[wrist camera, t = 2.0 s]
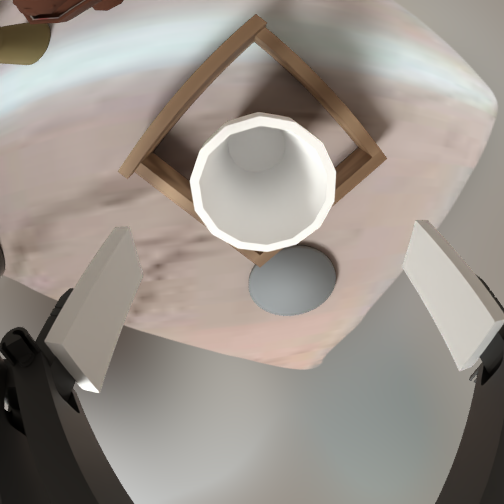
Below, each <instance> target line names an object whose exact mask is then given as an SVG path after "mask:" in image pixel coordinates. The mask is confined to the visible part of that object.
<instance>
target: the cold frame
mask: <svg viewBox="0 0 504 504" xmlns="http://www.w3.org/2000/svg"><path fill="white" fill-rule="evenodd" d="M266 24H267V22H266V21H264V20H263V19H262V18H261V17H259V16H258V15H257V14H255V15H254V16H253V17H252V18H251V19H249V20H248V21H247V22H246V23H245V24H244V25H242V26H241V27H240V28H239V29H238V30H237V31H236V32H235V33H234V34H233V35H231V36H230V37H229V38H228V39H227V40H226V41H225V42H224V43H223V44H222V45H221V46H220V47H219V48H218V49H217V50H216V51H215V52H214V53H213V54H212V55H211V56H210V57H209V58H208V59H207V60H206V61H205V62H204V63H203V64H202V65H201V66H200V67H199V68H198V69H197V70H196V71H195V72H194V74H193V75H192V76H191V77H190V78H189V79H188V80H187V81H186V82H185V84H184V85H183V86H182V87H181V88H180V89H179V90H178V92H177V93H176V94H175V95H174V96H173V97H172V99H171V100H170V101H169V102H168V103H167V105H166V106H165V107H164V108H163V110H162V111H161V112H160V113H159V115H158V116H157V117H156V119H155V120H154V121H153V122H152V124H151V125H150V126H149V128H148V129H147V130H146V132H145V133H144V134H143V136H142V137H141V139H140V140H139V141H138V143H137V144H136V145H135V147H134V148H133V150H132V151H131V153H130V154H129V156H128V157H127V159H126V160H125V162H124V163H123V165H122V166H121V168H120V169H119V171H118V172H119V173H120V174H122V175H123V176H124V177H126V178H127V179H128V178H129V177H130V176H131V175H132V174H133V173H134V172H135V173H137V174H138V175H139V176H140V177H142V178H143V179H144V180H146V181H147V182H148V183H150V184H151V185H152V186H153V187H155V188H156V189H157V190H159V191H160V192H161V193H163V194H164V195H165V196H166V197H168V198H169V199H170V200H172V201H173V202H174V203H176V204H177V205H178V206H180V207H181V208H182V209H183V210H185V211H186V212H187V213H189V214H190V215H191V216H193V217H194V218H195V219H197V220H198V221H199V222H200V223H202V224H203V225H204V226H206V225H205V224H204V222H203V221H202V220H201V218H200V217H199V216H198V214H197V213H196V212H195V209H194V203H193V198H192V192H191V186H190V181H189V180H187V179H186V178H185V177H184V176H182V175H181V174H180V173H178V172H177V171H176V170H175V169H173V168H172V167H171V166H170V165H168V164H167V163H166V162H164V161H163V160H162V159H161V158H159V157H158V156H157V155H156V154H154V153H153V151H154V150H155V149H156V148H157V146H158V145H159V144H160V142H161V141H162V140H163V139H164V137H165V136H166V135H167V134H168V132H169V131H170V130H171V129H172V127H173V126H174V125H175V124H176V123H177V121H178V120H179V119H180V118H181V117H182V115H183V114H184V113H185V112H186V111H187V110H188V108H189V107H190V106H191V105H192V104H193V103H194V102H195V100H196V99H197V98H198V97H199V96H200V95H201V94H202V93H203V92H204V91H205V90H206V88H207V87H208V86H209V85H210V84H211V83H212V82H213V81H214V80H215V79H216V78H217V77H218V76H219V75H220V74H221V73H222V72H223V71H224V70H225V69H226V68H227V67H228V66H229V65H230V64H231V63H232V62H233V61H234V60H235V59H236V58H237V57H238V56H239V55H240V54H241V53H242V52H243V51H245V50H246V49H247V48H248V47H249V46H250V45H251V44H252V43H253V42H255V43H257V44H258V45H259V46H260V47H261V48H262V49H264V50H265V51H266V52H267V53H268V54H269V55H271V56H272V57H273V58H274V59H275V60H276V61H277V62H278V63H280V64H281V65H282V66H283V67H284V68H285V69H286V70H287V71H288V72H289V73H290V74H291V75H292V76H293V77H295V78H296V79H297V80H298V81H299V82H300V83H301V84H302V85H303V86H304V87H305V88H306V89H307V90H308V91H309V92H310V93H311V94H312V95H313V96H314V97H315V98H316V100H317V101H318V102H319V103H320V104H321V105H322V106H323V107H324V108H325V109H326V110H327V111H328V112H329V113H330V115H331V116H332V117H333V118H334V119H335V120H336V121H337V122H338V124H339V125H340V126H341V127H342V128H343V129H344V130H345V132H346V133H347V134H348V135H349V136H350V138H351V139H352V140H353V141H354V142H355V144H356V145H357V146H358V148H357V149H356V150H355V151H354V152H353V153H352V154H350V155H349V156H348V157H347V158H346V159H345V160H344V161H343V162H341V163H340V164H339V165H338V166H337V167H336V168H335V170H336V183H335V199H334V203H333V205H334V204H336V203H337V202H338V201H339V200H340V199H341V198H343V197H344V196H345V195H346V194H347V193H348V192H350V191H351V190H352V189H353V188H354V187H355V186H356V185H358V184H359V183H360V182H361V181H362V180H363V179H364V178H366V177H367V176H368V175H369V174H370V173H371V172H372V171H374V170H375V169H376V168H377V167H378V166H379V165H380V164H382V163H383V162H384V161H385V160H386V159H387V158H386V156H385V155H384V153H383V152H382V151H381V149H380V148H379V147H378V145H377V144H376V143H375V141H374V140H373V139H372V137H371V136H370V135H369V133H368V132H367V131H366V130H365V128H364V127H363V126H362V125H361V123H360V122H359V121H358V120H357V119H356V117H355V116H354V115H353V114H352V112H351V111H350V110H349V109H348V108H347V107H346V105H345V104H344V103H343V102H342V101H341V100H340V99H339V97H338V96H337V95H336V94H335V93H334V92H333V91H332V90H331V89H330V88H329V87H328V85H327V84H326V83H325V82H324V81H323V80H322V79H321V78H320V77H319V76H318V75H317V74H316V73H315V72H314V71H313V70H312V69H311V68H310V67H309V66H308V65H307V64H306V63H305V62H304V61H303V60H302V59H301V58H300V57H299V56H298V55H297V54H296V53H294V52H293V51H292V50H291V49H290V48H289V47H288V46H287V45H286V44H285V43H283V42H282V41H281V40H280V39H279V38H278V37H277V36H275V35H274V34H273V33H272V32H271V31H269V30H268V29H267V28H266ZM333 205H332V206H333ZM206 227H207V226H206ZM228 244H229V243H228ZM229 245H231V244H229ZM231 246H232V247H233V248H235V249H236V250H237V251H239V252H240V253H241V254H243V255H244V256H245V257H247V258H248V259H249V260H251V261H252V262H253V263H255V264H256V265H257V266H259V267H261V266H263V265H264V264H265V263H266V262H267V261H269V260H270V259H271V258H272V257H273V256H275V255H276V254H277V253H278V252H279V251H280V250H282V249H283V248H281V249H277V250H273V251H269V252H263V251H255V250H247V249H238V248H236V247H234V246H233V245H231Z"/></svg>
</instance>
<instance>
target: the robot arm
mask: <svg viewBox="0 0 504 504" xmlns="http://www.w3.org/2000/svg"><path fill="white" fill-rule="evenodd" d="M402 268H403V269H404V271H405V273H406V274H407V276H408V277H409V279H410V281H411V282H412V284H413V285H414V287H415V289H416V290H417V292H418V294H419V295H420V297H421V299H422V300H423V302H424V304H425V306H426V307H427V309H428V311H429V313H430V315H431V316H432V318H433V320H434V322H435V324H436V325H437V327H438V329H439V331H440V333H441V335H442V337H443V339H444V340H445V343H446V345H447V346H448V349H449V351H450V353H451V355H452V357H453V359H454V361H455V363H456V365H457V367H458V369H459V371H461V370H464V369H466V368H470V367H472V366H473V364H474V363H475V362H476V361H477V360H478V359H479V357H480V358H481V360H482V363H481V364H480V366H479V367H478V368H477V369H476V370H475V372H474V373H473V374H472V375H471V377H470V379H469V380H470V381H471V380H472V379H473V378H474V377H475V375H477V378H476V380H475V381H474V382H475V383H476V385H475V390H474V394H473V399H472V403H471V407H470V411H469V415H468V419H467V422H466V426H465V429H464V433H463V436H462V439H461V442H460V446H459V448H458V451H457V454H456V457H455V459H454V462H453V465H452V468H451V470H450V473H449V475H448V477H447V480H446V482H445V484H444V486H443V488H442V491H441V493H440V495H439V497H438V499H437V501H436V503H435V504H504V308H503V307H502V305H501V304H500V302H499V301H498V299H497V298H495V297H494V294H493V293H492V291H490V289H489V287H488V286H487V285H486V283H485V282H484V281H483V280H482V279H481V278H480V277H478V276H477V275H476V274H475V273H474V272H473V271H472V270H471V268H470V267H469V266H468V265H467V264H466V262H465V261H464V260H463V259H462V258H461V256H460V255H459V254H458V253H457V252H456V251H455V250H454V248H453V247H452V246H451V245H450V244H449V243H448V242H447V240H446V239H445V238H444V237H443V236H442V235H441V234H440V233H439V232H438V231H437V230H436V229H435V228H434V226H433V225H432V224H431V223H430V222H429V221H428V220H415V224H414V228H413V232H412V235H411V239H410V242H409V246H408V249H407V252H406V256H405V259H404V262H403V265H402ZM4 269H5V263H4V257H3V254H2V251H1V248H0V278H1V276H2V275H3V273H4ZM142 278H143V272H142V268H141V265H140V262H139V258H138V255H137V251H136V248H135V244H134V240H133V237H132V233H131V229H130V226H127V227H115V228H114V230H113V231H112V232H111V234H110V235H109V237H108V238H107V239H106V241H105V242H104V244H103V245H102V246H101V248H100V249H99V251H98V252H97V254H96V255H95V257H94V258H93V260H92V261H91V263H90V264H89V266H88V267H87V269H86V270H85V272H84V273H83V275H82V276H81V278H80V280H79V281H78V283H77V284H76V286H75V288H74V289H73V288H70V289H69V290H68V291H66V292H65V293H64V294H63V295H62V296H61V297H60V299H59V301H58V302H57V304H56V306H55V308H54V309H53V311H52V313H51V314H50V315H51V316H50V317H48V319H47V321H46V323H45V325H44V326H43V328H42V330H41V332H40V334H39V336H38V337H37V340H36V341H34V340H33V338H32V337H31V336H30V334H29V333H28V331H27V330H26V329H24V328H22V327H17V328H14V329H12V330H10V331H9V332H8V333H7V334H6V335H5V336H4V337H3V338H2V341H1V343H0V352H1V353H2V354H3V355H4V356H5V358H6V359H2V358H1V356H0V504H134V503H133V501H132V500H131V498H130V497H129V495H128V494H127V492H126V491H125V489H124V488H123V486H122V484H121V483H120V481H119V479H118V478H117V476H116V474H115V473H114V471H113V469H112V468H111V466H110V464H109V462H108V460H107V459H106V457H105V455H104V453H103V451H102V449H101V447H100V445H99V443H98V441H97V439H96V437H95V435H94V433H93V431H92V429H91V427H90V424H89V422H88V420H87V418H86V415H85V413H84V411H83V408H82V406H81V403H80V401H79V398H78V396H77V393H76V392H75V390H74V389H73V386H74V384H75V381H76V382H77V383H78V385H79V386H80V387H81V388H82V389H83V390H88V391H92V392H97V393H100V391H101V388H102V385H103V381H104V378H105V375H106V372H107V369H108V366H109V363H110V360H111V357H112V354H113V352H114V348H115V346H116V343H117V340H118V338H119V335H120V332H121V330H122V327H123V324H124V322H125V319H126V317H127V314H128V312H129V309H130V306H131V304H132V302H133V299H134V297H135V294H136V292H137V289H138V287H139V285H140V282H141V280H142ZM4 402H5V403H7V404H8V411H6V410H5V409H4Z"/></svg>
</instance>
